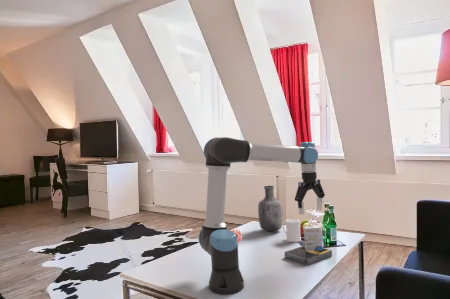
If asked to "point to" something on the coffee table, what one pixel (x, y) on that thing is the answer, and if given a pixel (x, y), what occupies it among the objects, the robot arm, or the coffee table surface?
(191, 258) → the coffee table surface
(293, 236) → the mug
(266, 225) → the vase
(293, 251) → the tray
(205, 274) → the coffee table surface
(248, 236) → the coffee table surface
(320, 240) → the ink box
